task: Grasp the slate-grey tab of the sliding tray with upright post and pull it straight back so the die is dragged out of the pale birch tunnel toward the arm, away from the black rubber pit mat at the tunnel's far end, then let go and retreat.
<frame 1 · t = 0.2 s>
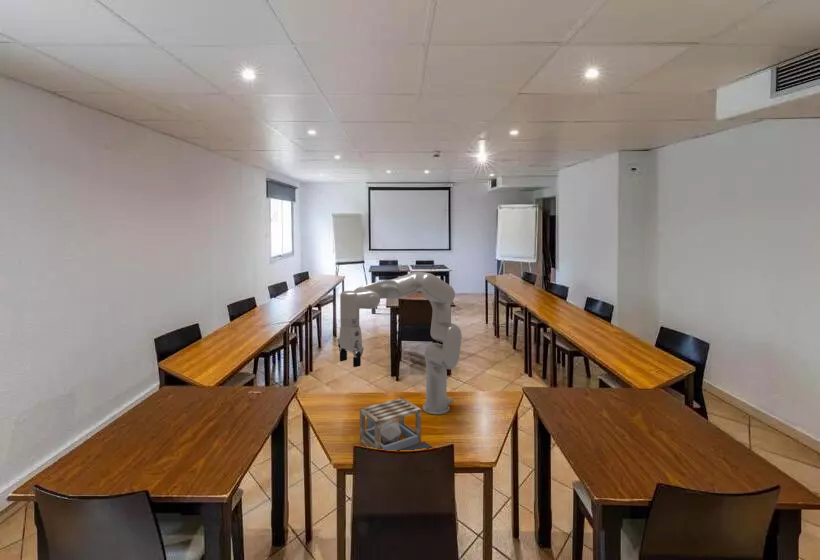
hand: (350, 363, 171), 30 cm above the table, fingers open, 9 cm apart
tunnel: (390, 441, 169), on the table
pit mat: (415, 449, 163), on the table
die: (390, 442, 169), on the table
tray with upright post: (384, 426, 171), point 5 cm above the table, slide at 0.0 cm
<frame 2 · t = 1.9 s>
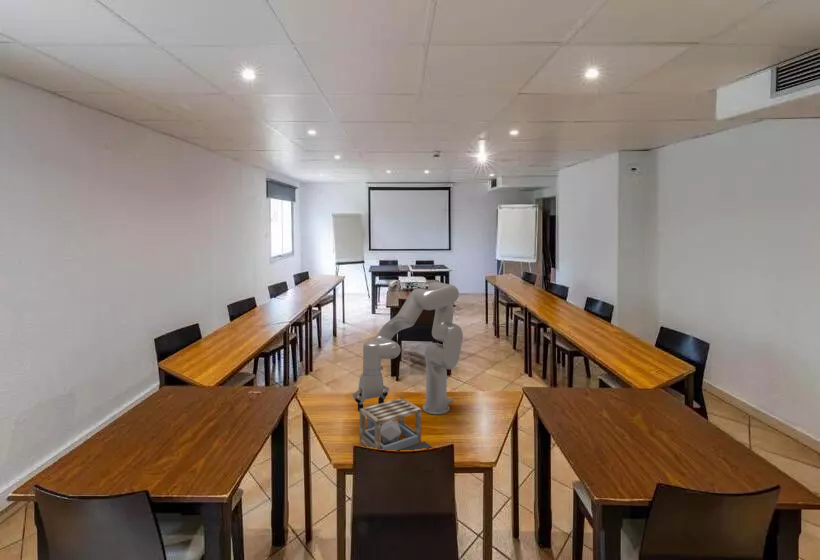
hand: (370, 410, 179), 8 cm above the table, fingers open, 9 cm apart
nothing on the table moved.
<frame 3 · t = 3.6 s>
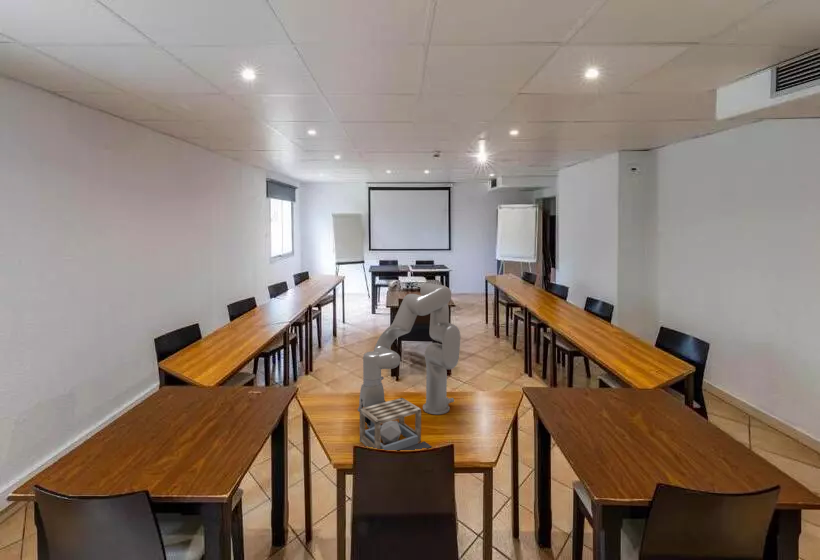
hand: (372, 422, 180), 2 cm above the table, fingers closed on tray with upright post, 3 cm apart
tray with upright post: (384, 426, 171), point 5 cm above the table, slide at 0.0 cm, touching gripper
everything else where it was.
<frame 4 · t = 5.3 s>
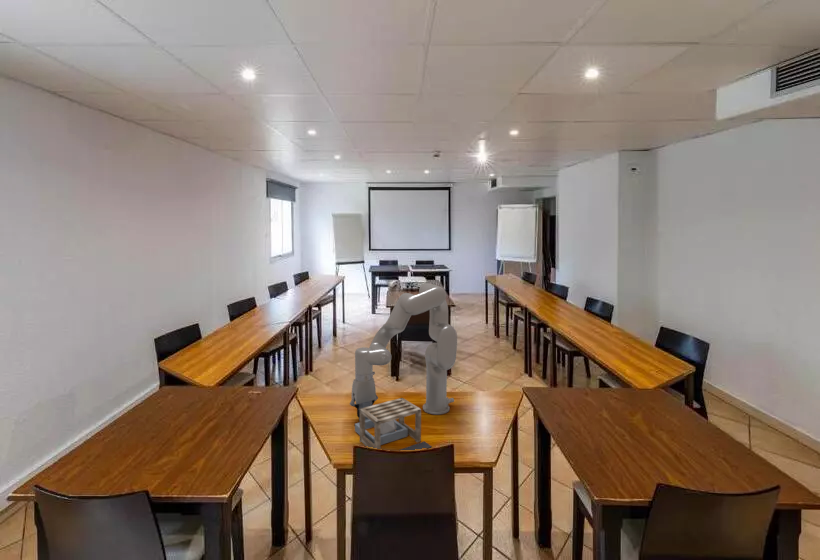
hand: (364, 415, 186), 2 cm above the table, fingers closed on tray with upright post, 3 cm apart
die: (385, 436, 173), on the table
tray with upright post: (375, 419, 177), point 5 cm above the table, slide at -7.4 cm, touching gripper
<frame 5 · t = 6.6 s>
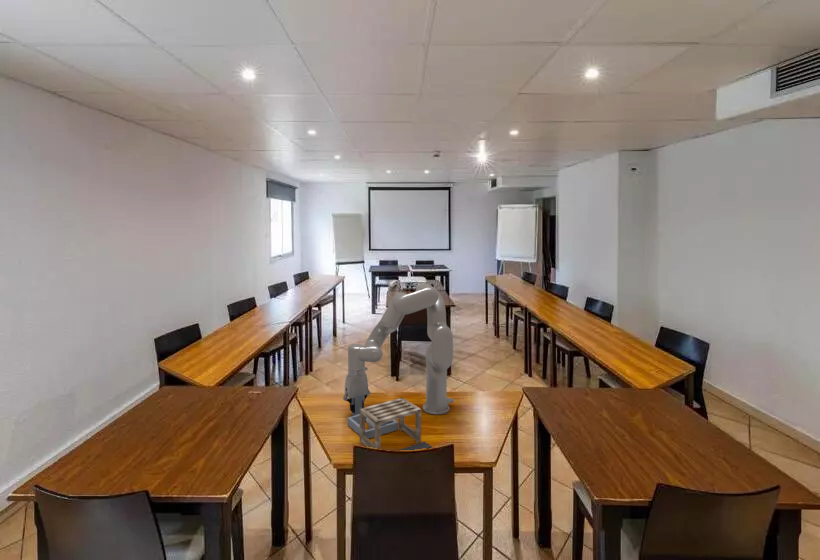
hand: (357, 410, 192), 2 cm above the table, fingers closed on tray with upright post, 3 cm apart
die: (377, 430, 178), on the table, touching tray with upright post
tray with upright post: (367, 413, 183), point 5 cm above the table, slide at -14.3 cm, touching die, gripper
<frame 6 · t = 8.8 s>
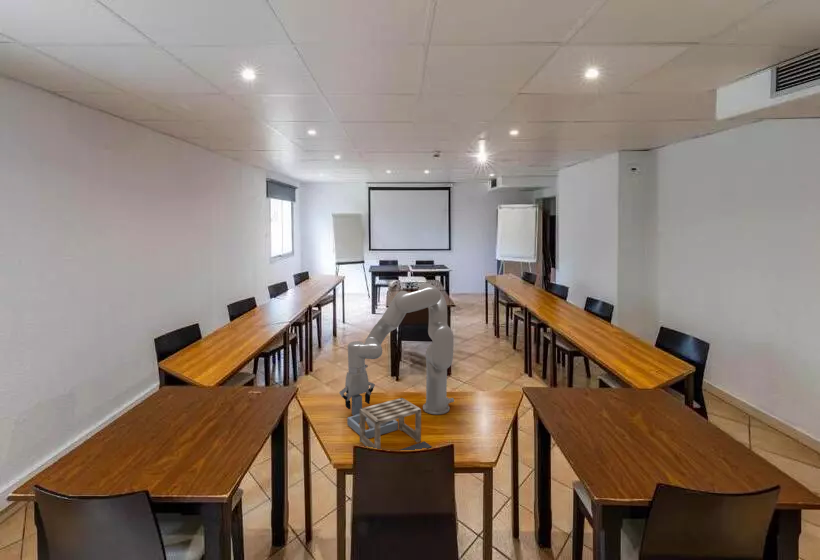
hand: (358, 405, 192), 4 cm above the table, fingers open, 9 cm apart
die: (377, 429, 179), on the table
tray with upright post: (367, 413, 183), point 5 cm above the table, slide at -14.5 cm
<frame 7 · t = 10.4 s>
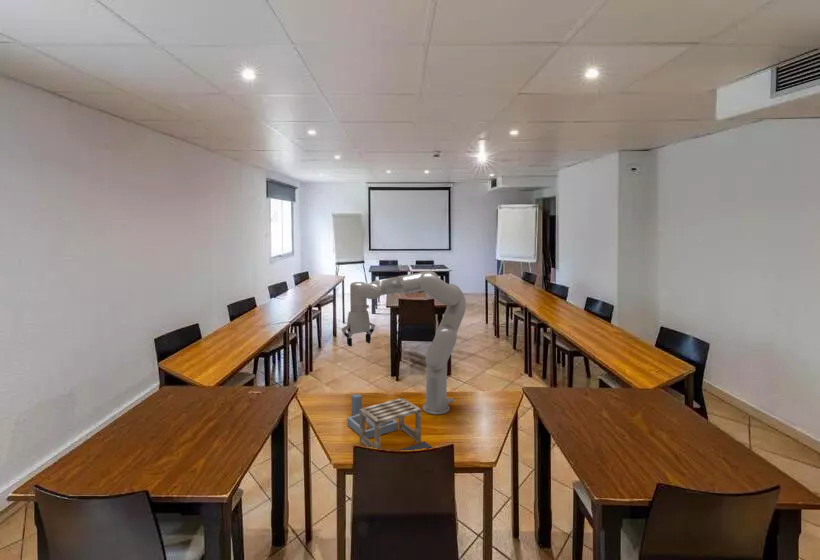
hand: (359, 344, 199), 30 cm above the table, fingers open, 9 cm apart
nothing on the table moved.
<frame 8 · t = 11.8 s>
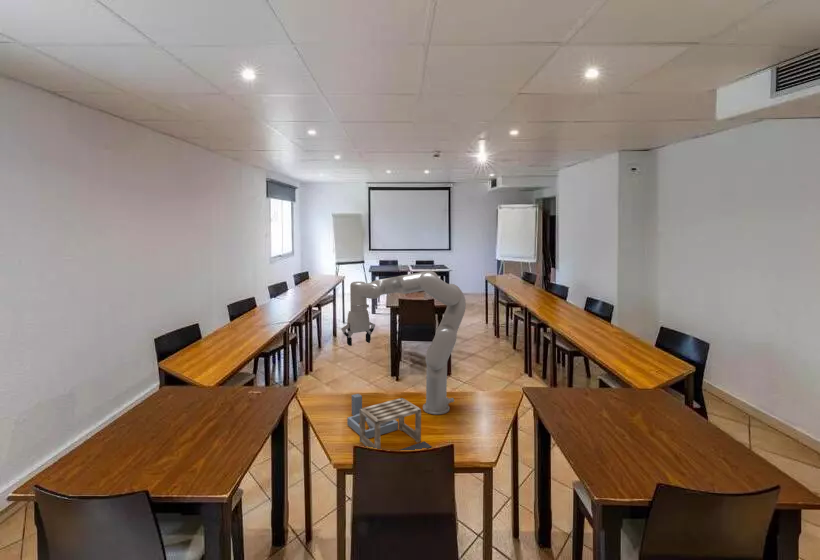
hand: (358, 343, 199), 30 cm above the table, fingers open, 9 cm apart
nothing on the table moved.
at the end: tray with upright post slide at -14.5 cm; die inside the target area (4.0 cm from its centre), on the table; die tilted 0° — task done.
